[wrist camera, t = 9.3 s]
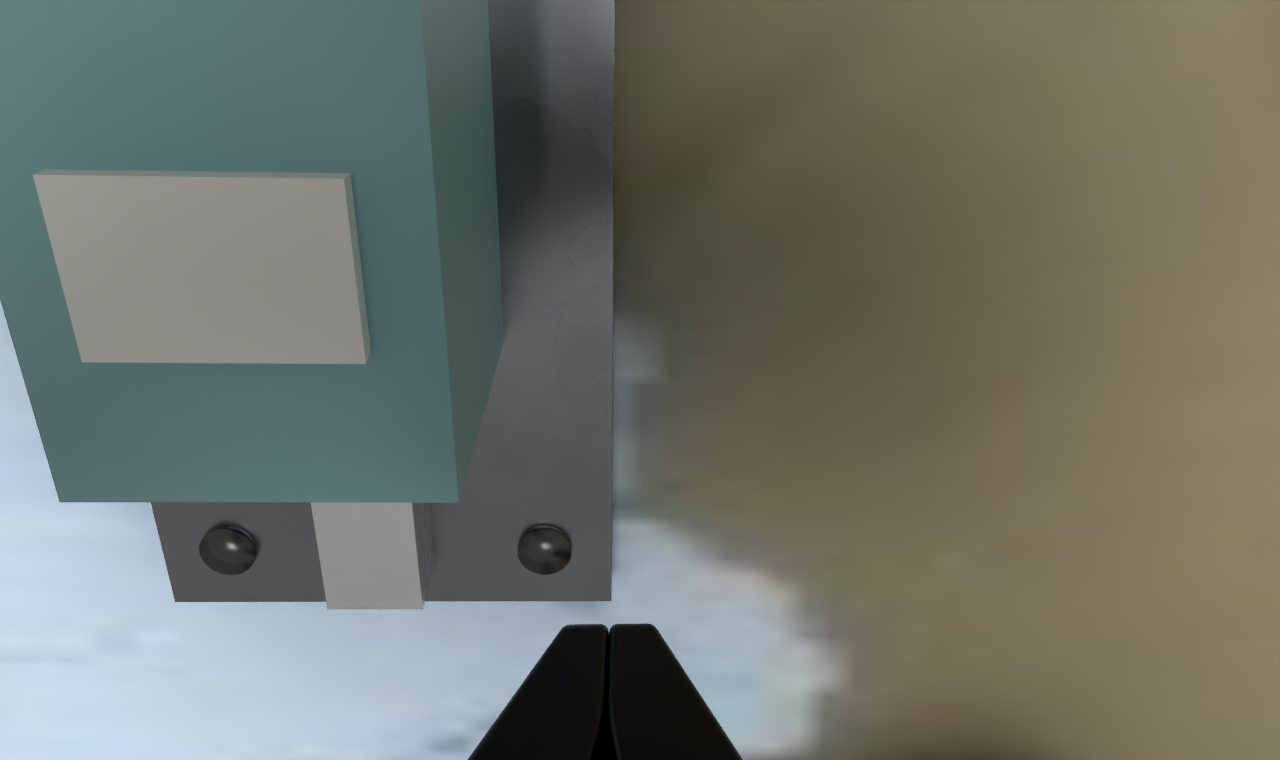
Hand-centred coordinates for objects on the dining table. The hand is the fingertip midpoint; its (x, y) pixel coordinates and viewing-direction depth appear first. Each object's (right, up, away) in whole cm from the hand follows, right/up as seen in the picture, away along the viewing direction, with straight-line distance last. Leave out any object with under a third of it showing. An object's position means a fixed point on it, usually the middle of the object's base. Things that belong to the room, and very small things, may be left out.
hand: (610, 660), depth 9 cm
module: (-5, +7, +8) cm, 12 cm away
